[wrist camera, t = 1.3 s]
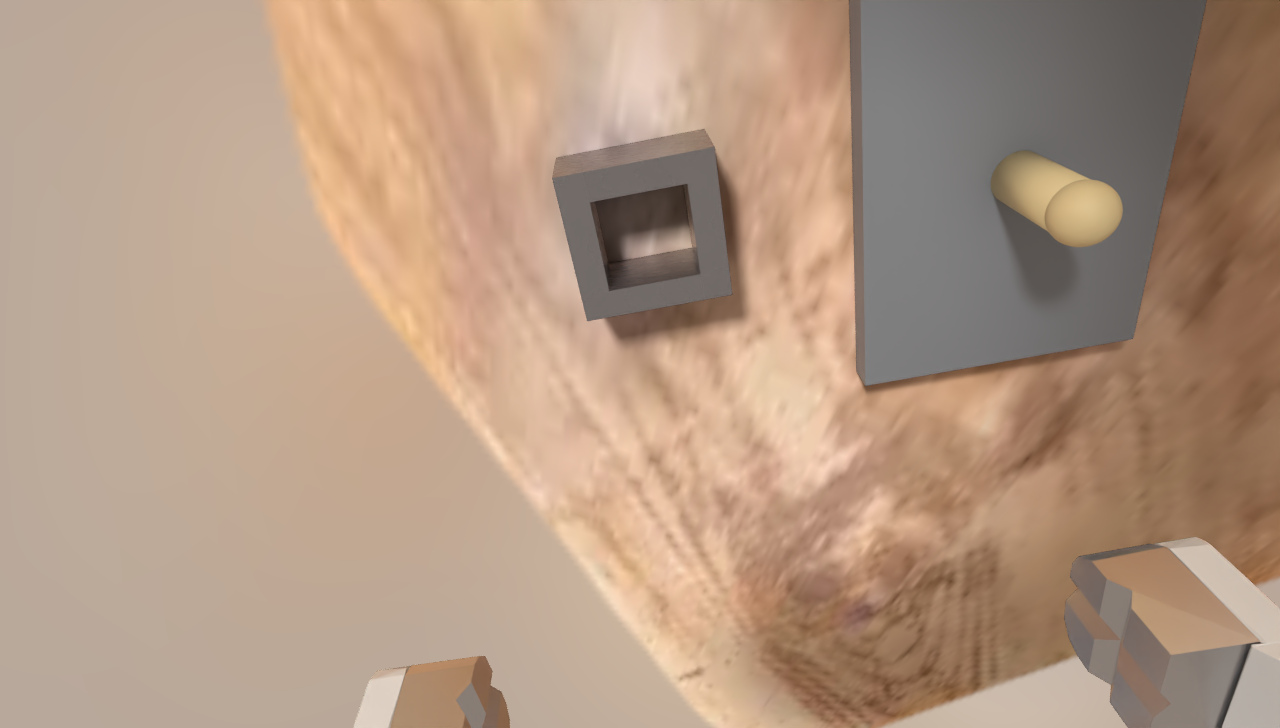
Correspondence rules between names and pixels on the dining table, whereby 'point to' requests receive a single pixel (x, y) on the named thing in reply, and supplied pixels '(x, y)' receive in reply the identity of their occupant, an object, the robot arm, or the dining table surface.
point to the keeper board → (960, 132)
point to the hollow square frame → (654, 275)
